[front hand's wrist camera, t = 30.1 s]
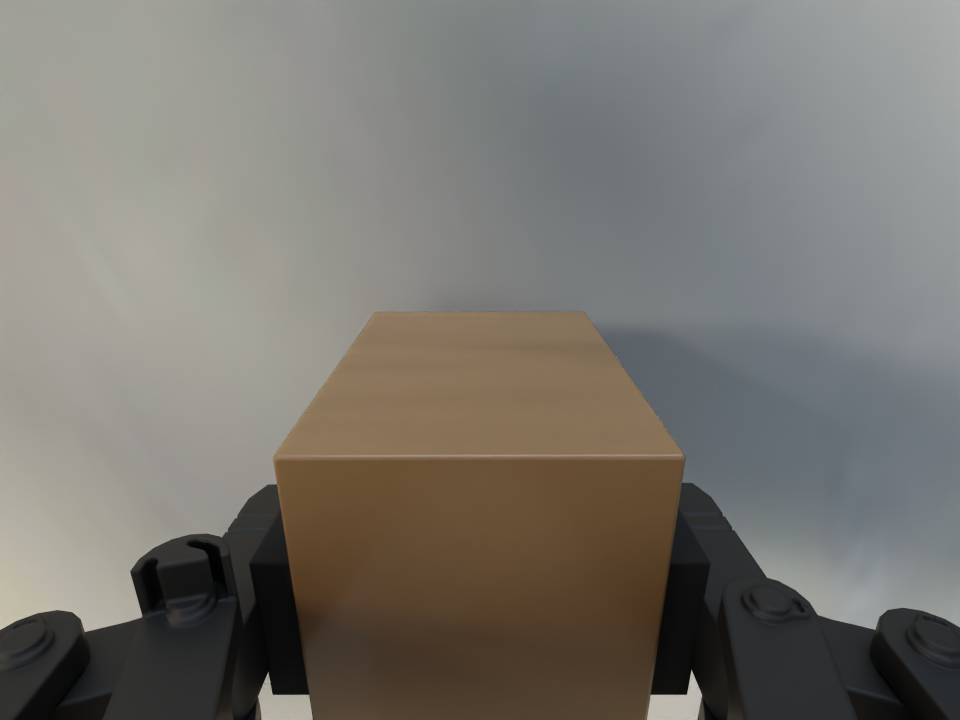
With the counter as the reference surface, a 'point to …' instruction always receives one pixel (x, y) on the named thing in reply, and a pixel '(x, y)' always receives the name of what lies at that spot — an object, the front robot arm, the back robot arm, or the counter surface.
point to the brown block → (479, 523)
